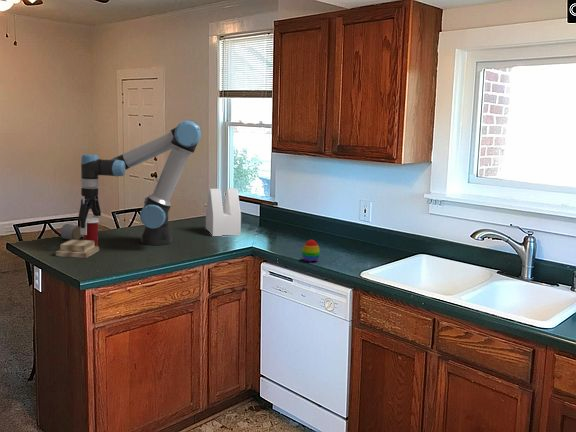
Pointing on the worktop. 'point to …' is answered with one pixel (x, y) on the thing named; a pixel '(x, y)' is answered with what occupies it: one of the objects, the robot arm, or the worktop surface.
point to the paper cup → (92, 230)
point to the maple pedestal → (77, 248)
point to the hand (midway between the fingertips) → (89, 231)
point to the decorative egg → (311, 251)
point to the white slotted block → (223, 213)
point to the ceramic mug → (71, 232)
